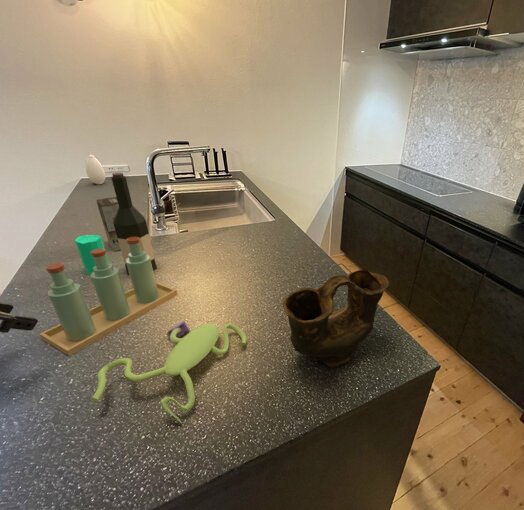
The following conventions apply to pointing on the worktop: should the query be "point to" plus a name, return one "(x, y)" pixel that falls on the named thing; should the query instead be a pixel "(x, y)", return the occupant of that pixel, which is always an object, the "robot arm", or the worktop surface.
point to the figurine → (178, 359)
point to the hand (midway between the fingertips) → (22, 317)
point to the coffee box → (109, 219)
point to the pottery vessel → (334, 316)
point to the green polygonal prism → (89, 250)
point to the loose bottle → (69, 305)
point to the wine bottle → (129, 221)
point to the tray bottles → (111, 284)
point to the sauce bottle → (95, 170)
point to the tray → (105, 321)
